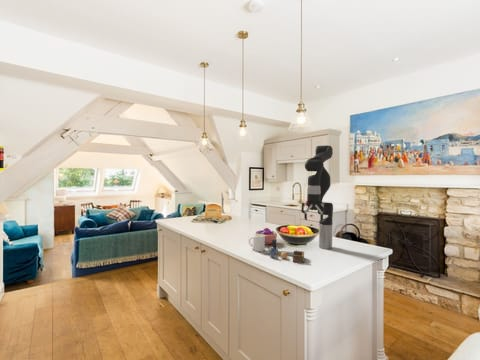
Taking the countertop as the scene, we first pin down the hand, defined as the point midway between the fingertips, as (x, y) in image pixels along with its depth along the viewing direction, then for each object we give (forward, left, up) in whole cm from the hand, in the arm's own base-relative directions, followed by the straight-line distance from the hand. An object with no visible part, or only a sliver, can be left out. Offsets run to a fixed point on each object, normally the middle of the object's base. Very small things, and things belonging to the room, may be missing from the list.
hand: (313, 220), depth 153 cm
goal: (-5, -9, -26) cm, 28 cm away
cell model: (-38, -34, -26) cm, 58 cm away
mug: (-19, -38, -26) cm, 50 cm away
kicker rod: (-10, -25, -26) cm, 37 cm away
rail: (-13, -19, -26) cm, 35 cm away
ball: (-5, -18, -24) cm, 30 cm away
